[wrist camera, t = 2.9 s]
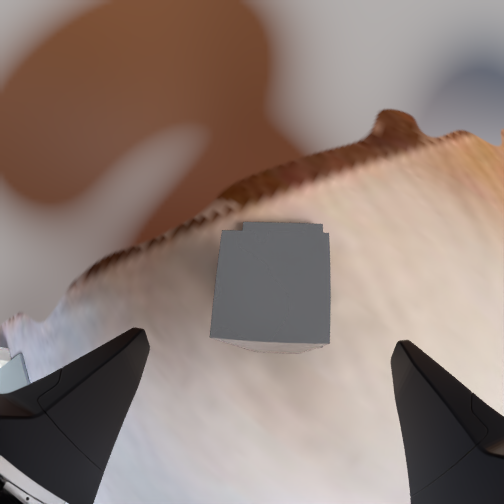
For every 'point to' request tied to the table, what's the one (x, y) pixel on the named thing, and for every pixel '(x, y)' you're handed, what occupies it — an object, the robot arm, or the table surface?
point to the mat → (13, 375)
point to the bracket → (273, 288)
